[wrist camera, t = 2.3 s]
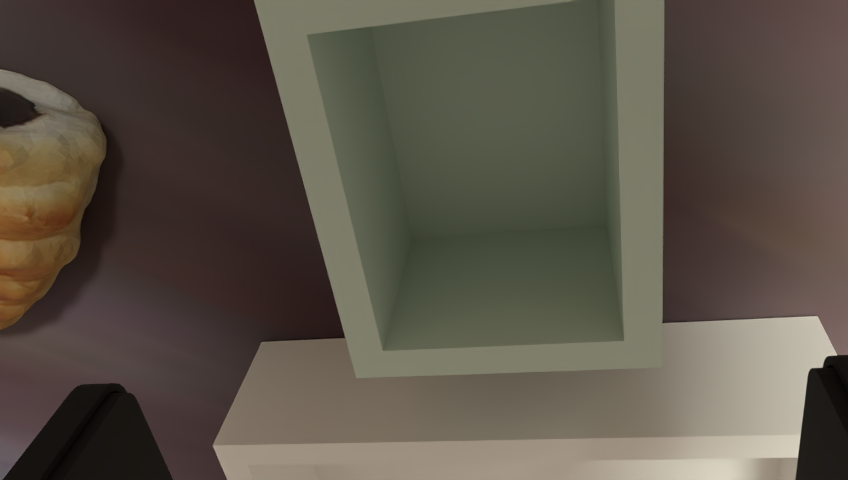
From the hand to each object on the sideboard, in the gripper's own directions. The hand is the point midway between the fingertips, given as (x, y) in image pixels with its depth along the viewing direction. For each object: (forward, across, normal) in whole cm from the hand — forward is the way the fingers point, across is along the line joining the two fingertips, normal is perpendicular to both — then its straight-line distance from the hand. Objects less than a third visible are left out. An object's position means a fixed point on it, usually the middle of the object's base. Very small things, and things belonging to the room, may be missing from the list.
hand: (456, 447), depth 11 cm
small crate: (+11, 0, -1) cm, 11 cm away
